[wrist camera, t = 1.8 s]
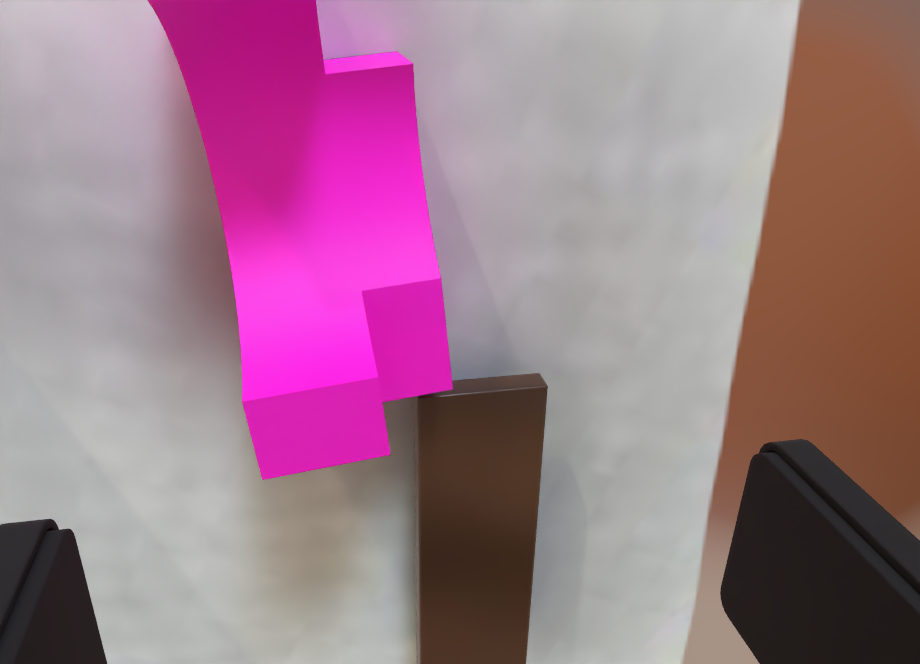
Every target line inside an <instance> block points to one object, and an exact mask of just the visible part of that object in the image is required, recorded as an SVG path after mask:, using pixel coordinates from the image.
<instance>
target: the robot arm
mask: <svg viewBox="0 0 920 664" xmlns="http://www.w3.org/2000/svg"><path fill="white" fill-rule="evenodd" d="M720 593H721V600H722V605H723V608H724V611H725V612H726V614H727V616H728V618H729V619H730V621H731V622H732V623H733V625H734V626H735V628H736V629H737V631H738V632H739V634H740V635H741V637H742V638H743V640H744V641H745V642H746V644H747V645H748V647H749V648H750V650H751V651H752V653H753V654H754V656H755V657H756V659H757V660H758V662H759V663H760V664H920V541H919V540H918V539H917V538H916V537H915V536H914V535H913V534H912V533H911V532H909V531H908V530H907V529H906V528H905V527H904V526H903V525H902V524H901V523H899V522H898V521H897V520H896V519H895V518H894V517H893V516H892V515H891V514H889V513H888V512H887V511H886V510H885V509H884V508H883V507H882V506H881V505H879V504H878V503H877V502H876V501H875V500H874V499H873V498H872V497H871V496H869V495H868V494H867V493H866V492H865V491H864V490H863V489H862V488H861V487H860V486H859V485H857V484H856V483H855V482H854V481H853V480H852V479H851V478H850V477H849V476H847V475H846V474H845V473H844V472H843V471H842V470H841V469H840V468H838V466H836V465H835V464H834V463H833V462H832V461H831V460H830V459H829V458H828V457H826V456H825V455H824V454H823V453H822V452H821V451H820V450H819V449H818V448H817V447H815V446H814V445H813V444H812V443H810V442H809V441H807V440H803V439H799V440H789V441H779V442H770V443H767V444H764V445H763V447H762V448H761V449H760V452H759V454H756V455H754V456H753V458H752V459H751V462H750V466H749V470H748V474H747V479H746V483H745V487H744V491H743V496H742V500H741V504H740V509H739V513H738V517H737V521H736V526H735V530H734V534H733V538H732V543H731V547H730V551H729V556H728V560H727V564H726V569H725V572H724V577H723V581H722V585H721V592H720ZM0 664H107V661H106V657H105V653H104V649H103V645H102V641H101V637H100V634H99V630H98V626H97V622H96V618H95V614H94V610H93V606H92V602H91V598H90V594H89V590H88V586H87V582H86V578H85V574H84V570H83V566H82V562H81V558H80V555H79V551H78V547H77V543H76V539H75V536H74V533H73V531H72V530H71V529H62V530H59V529H58V526H57V524H56V522H55V521H54V520H52V519H44V520H35V521H26V522H16V523H7V524H2V525H0Z"/></svg>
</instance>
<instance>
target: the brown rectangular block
mask: <svg viewBox="0 0 920 664" xmlns="http://www.w3.org/2000/svg"><path fill="white" fill-rule="evenodd" d="M452 385H453V389H452V390H446V391H441V392H435V393H430V394H425V395H419V396H414V468H415V558H416V647H417V664H526V656H527V644H528V631H529V618H530V605H531V593H532V580H533V567H534V554H535V541H536V529H537V516H538V503H539V490H540V478H541V465H542V452H543V439H544V427H545V414H546V401H547V388H548V386H547V384H546V383H545V381H544V380H543V378H542V376H541V375H540V374H539V373H534V374H523V375H512V376H500V377H489V378H478V379H467V380H456V381H452Z"/></svg>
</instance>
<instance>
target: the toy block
mask: <svg viewBox="0 0 920 664" xmlns="http://www.w3.org/2000/svg"><path fill="white" fill-rule="evenodd" d="M148 2H149V3H150V5H151V6H152V7H153V9H154V11H155V13H156V14H157V16H158V18H159V20H160V22H161V24H162V26H163V28H164V30H165V32H166V34H167V37H168V39H169V41H170V43H171V46H172V48H173V51H174V53H175V56H176V58H177V61H178V64H179V66H180V69H181V72H182V75H183V77H184V80H185V83H186V86H187V89H188V92H189V95H190V98H191V102H192V105H193V108H194V111H195V114H196V118H197V121H198V125H199V128H200V132H201V135H202V139H203V142H204V146H205V150H206V154H207V158H208V162H209V165H210V169H211V174H212V178H213V182H214V186H215V191H216V195H217V199H218V204H219V209H220V213H221V218H222V223H223V228H224V233H225V238H226V244H227V249H228V255H229V260H230V267H231V273H232V279H233V286H234V292H235V300H236V307H237V315H238V324H239V334H240V345H241V359H242V403H243V407H244V411H245V414H246V418H247V422H248V426H249V430H250V434H251V438H252V441H253V445H254V449H255V453H256V457H257V461H258V465H259V468H260V472H261V476H262V480H265V479H270V478H275V477H280V476H285V475H290V474H295V473H300V472H305V471H310V470H315V469H321V468H326V467H331V466H336V465H341V464H346V463H351V462H356V461H361V460H366V459H372V458H377V457H382V456H387V455H391V454H390V448H389V441H388V435H387V429H386V423H385V416H384V410H383V404H382V402H387V401H392V400H398V399H403V398H408V397H414V396H419V395H425V394H430V393H435V392H441V391H446V390H452V389H453V385H452V376H451V367H450V357H449V348H448V339H447V329H446V320H445V311H444V301H443V292H442V283H441V276H440V271H439V266H438V262H437V257H436V252H435V247H434V241H433V236H432V231H431V225H430V219H429V213H428V207H427V200H426V194H425V187H424V180H423V172H422V165H421V157H420V148H419V139H418V129H417V118H416V106H415V91H414V72H413V63H411V62H410V61H409V60H407V59H406V58H405V57H403V56H402V55H401V54H400V53H398V52H388V53H379V54H371V55H362V56H354V57H345V58H337V59H328V60H323V54H322V46H321V39H320V32H319V24H318V16H317V8H316V0H148Z"/></svg>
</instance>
